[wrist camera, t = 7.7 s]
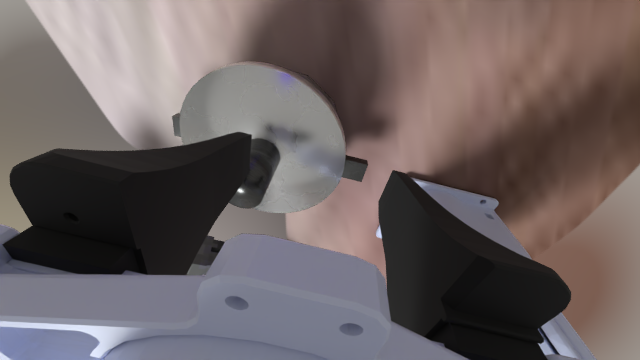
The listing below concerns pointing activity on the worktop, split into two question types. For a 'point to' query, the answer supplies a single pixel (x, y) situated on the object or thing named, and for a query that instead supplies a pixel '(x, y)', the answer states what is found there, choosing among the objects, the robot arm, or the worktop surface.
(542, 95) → the worktop surface
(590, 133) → the worktop surface
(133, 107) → the worktop surface
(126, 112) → the worktop surface
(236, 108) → the lid
